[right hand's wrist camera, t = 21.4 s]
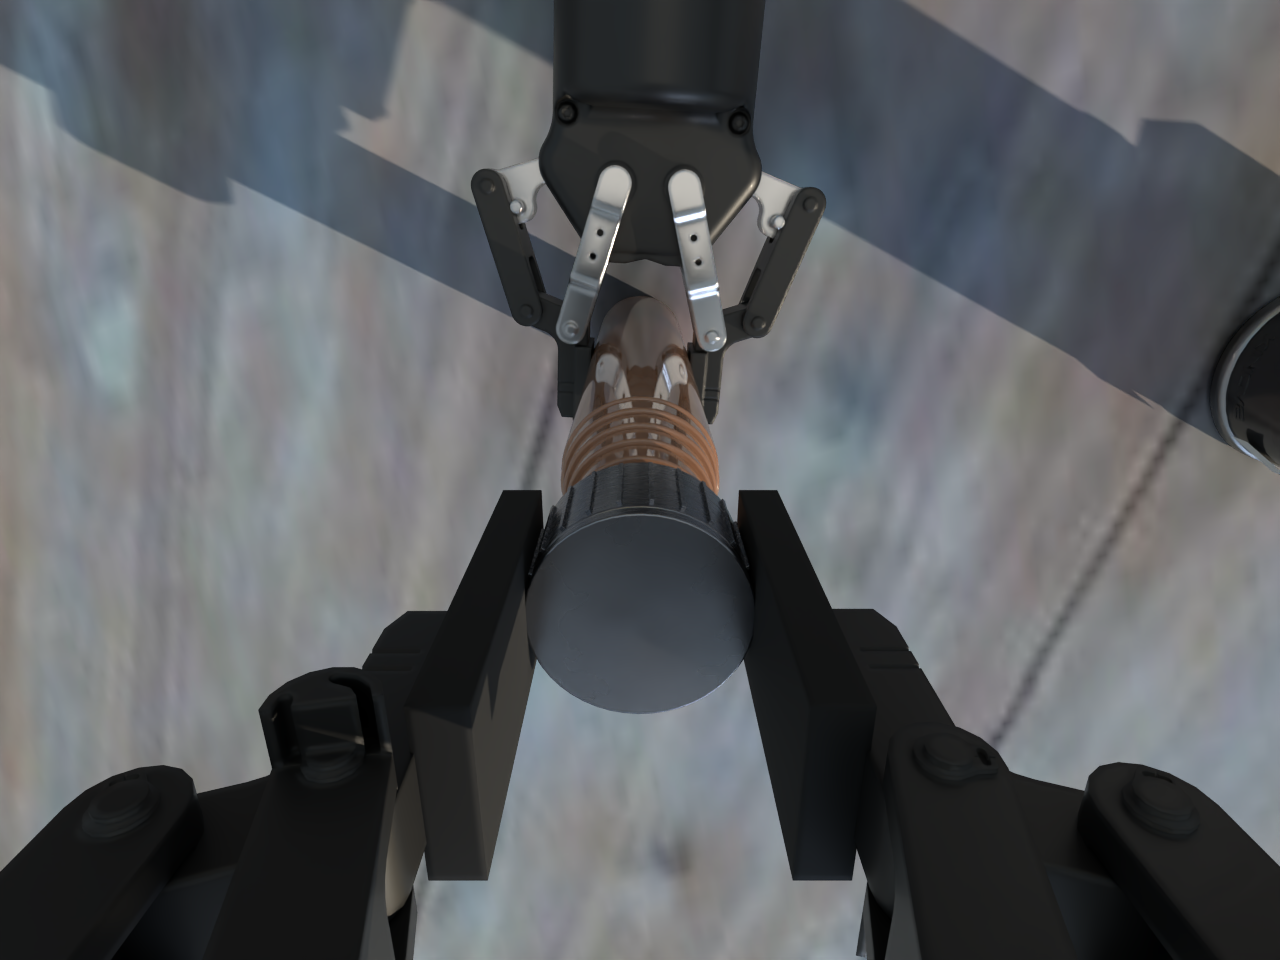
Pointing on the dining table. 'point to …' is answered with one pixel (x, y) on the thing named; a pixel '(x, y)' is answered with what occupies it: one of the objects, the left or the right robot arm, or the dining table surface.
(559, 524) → the cap
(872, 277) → the dining table surface
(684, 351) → the ringed wooden cylinder
